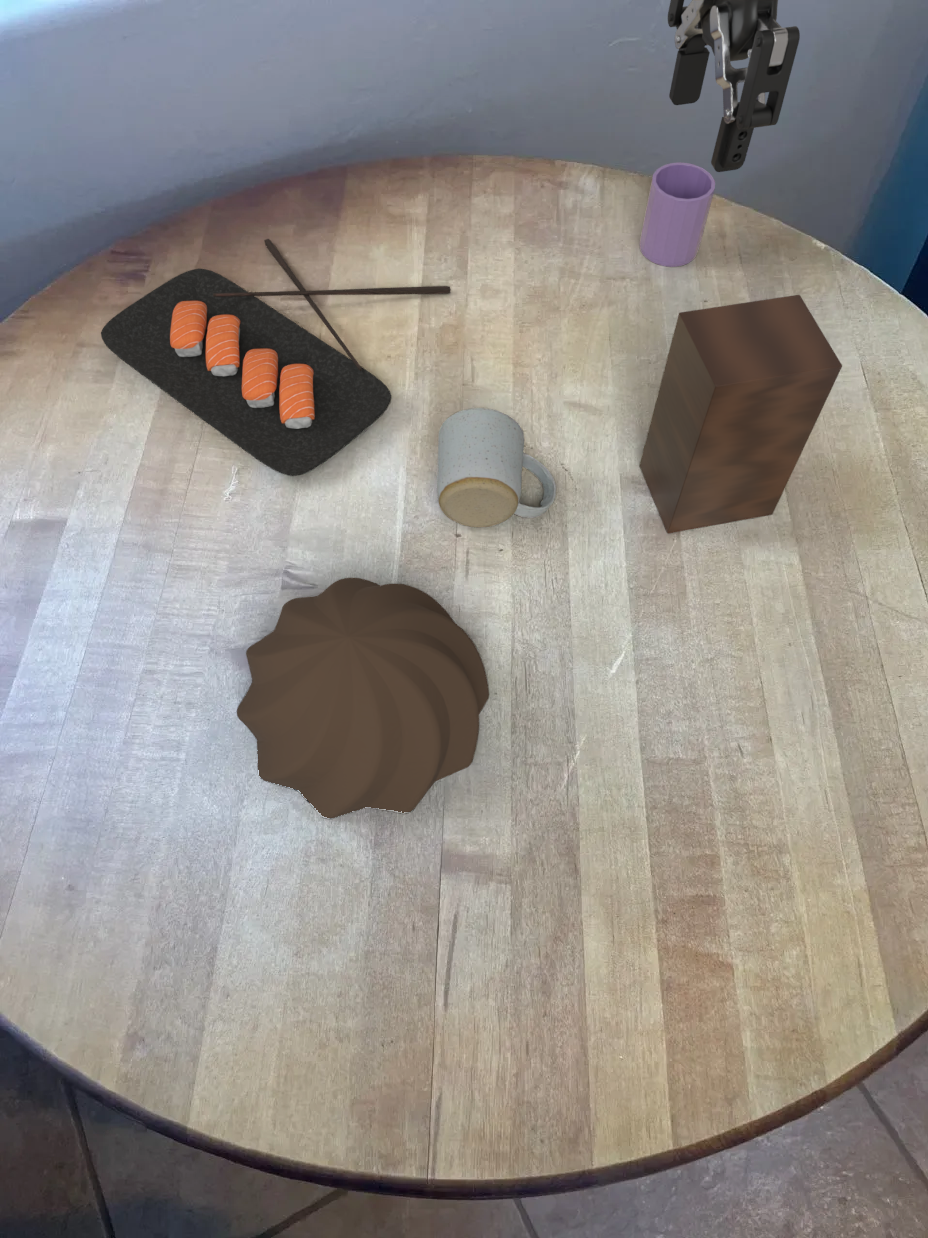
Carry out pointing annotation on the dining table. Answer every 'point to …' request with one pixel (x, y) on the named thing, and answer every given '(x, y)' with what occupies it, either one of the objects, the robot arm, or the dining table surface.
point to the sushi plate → (252, 366)
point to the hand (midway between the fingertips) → (703, 133)
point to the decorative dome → (364, 697)
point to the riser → (735, 410)
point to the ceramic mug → (486, 469)
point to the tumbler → (676, 213)
